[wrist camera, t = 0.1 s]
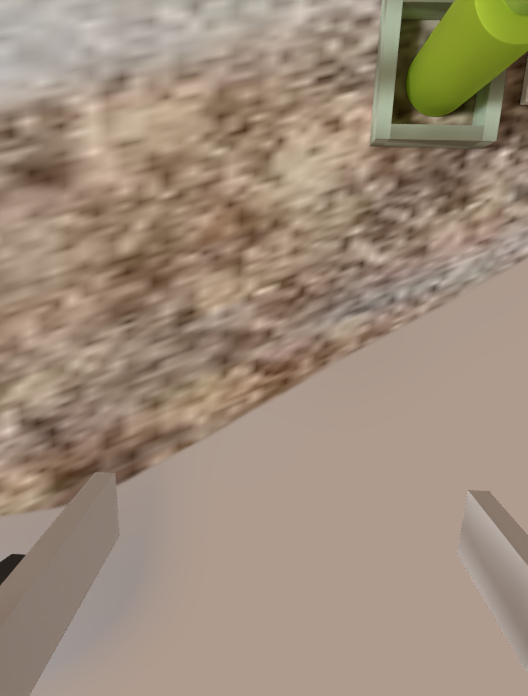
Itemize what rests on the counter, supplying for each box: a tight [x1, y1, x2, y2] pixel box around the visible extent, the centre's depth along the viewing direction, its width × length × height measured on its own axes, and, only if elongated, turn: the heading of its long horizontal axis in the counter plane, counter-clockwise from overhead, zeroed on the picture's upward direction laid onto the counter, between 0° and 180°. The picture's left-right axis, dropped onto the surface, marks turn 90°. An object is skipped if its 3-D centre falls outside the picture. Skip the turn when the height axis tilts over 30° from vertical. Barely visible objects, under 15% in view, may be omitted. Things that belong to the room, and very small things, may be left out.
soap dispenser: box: [406, 0, 528, 117], centre depth 26 cm, size 6×7×20 cm
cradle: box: [370, 0, 508, 148], centre depth 34 cm, size 11×10×2 cm
